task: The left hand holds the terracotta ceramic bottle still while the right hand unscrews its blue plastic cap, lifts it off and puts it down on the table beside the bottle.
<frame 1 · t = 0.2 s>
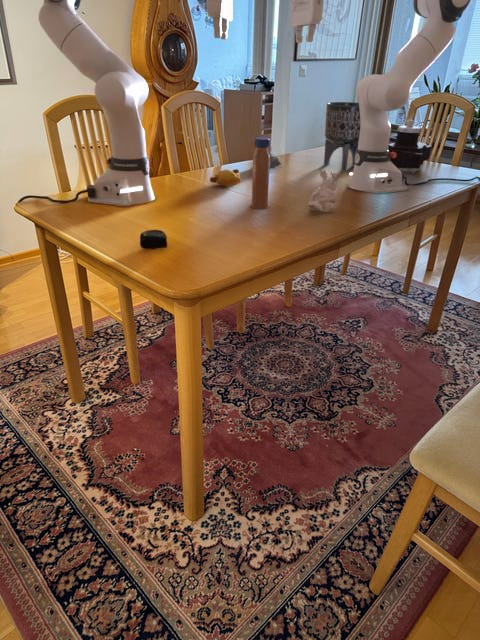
left hand: (220, 38, 130), 48 cm above the table, tool pointing down, fingers open, 8 cm apart
right hand: (304, 42, 147), 48 cm above the table, tool pointing down, fingers open, 8 cm apart
cap: (262, 139, 142), point 21 cm above the table, screwed on, not yet turned
toy: (227, 184, 177), on the table
planter: (341, 167, 211), on the table
bottle: (259, 206, 152), on the table
rock: (268, 167, 206), on the table
mechanical component: (405, 169, 210), on the table
tape measure: (155, 248, 118), on the table
figurine: (320, 210, 150), on the table
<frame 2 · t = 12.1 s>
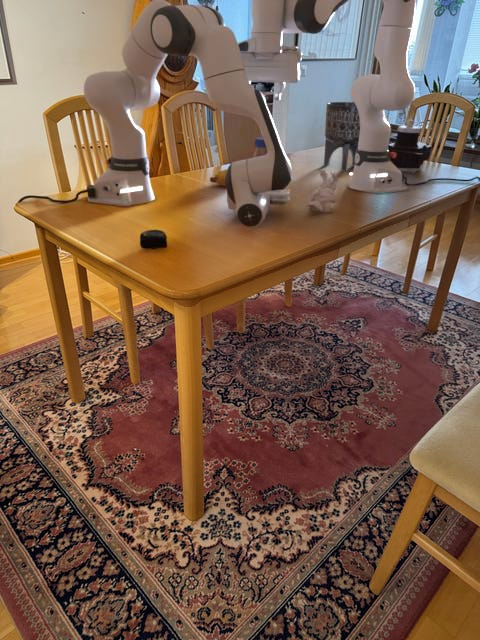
left hand: (260, 189, 150), 6 cm above the table, tool horizontal, fingers closed on bottle, 5 cm apart
right hand: (264, 99, 136), 33 cm above the table, tool pointing down, fingers open, 7 cm apart
bottle: (259, 206, 152), on the table, touching left hand
everything else where it was.
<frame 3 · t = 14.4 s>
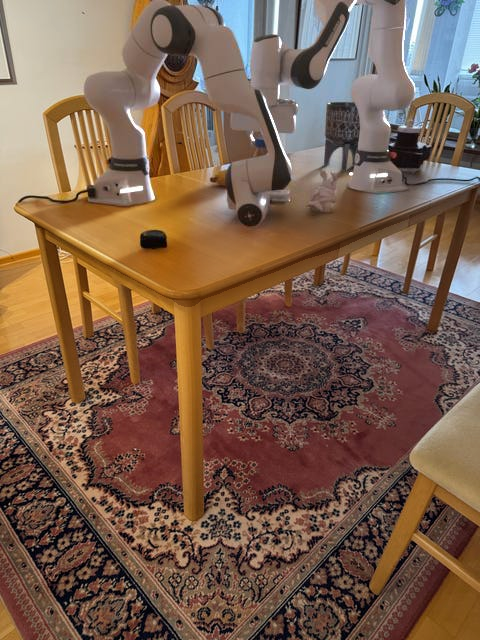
left hand: (260, 189, 150), 6 cm above the table, tool horizontal, fingers closed on bottle, 5 cm apart
right hand: (262, 147, 143), 19 cm above the table, tool pointing down, fingers closed on cap, 4 cm apart
cap: (262, 139, 142), point 21 cm above the table, screwed on, not yet turned, touching right hand
bottle: (259, 206, 152), on the table, touching left hand
everything else where it was.
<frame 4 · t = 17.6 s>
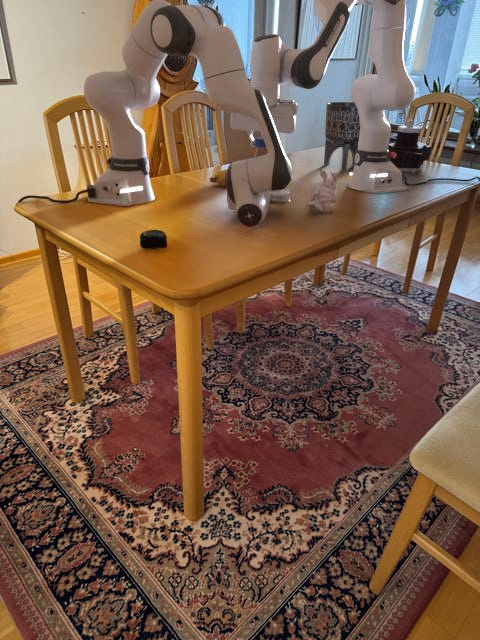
left hand: (260, 189, 150), 6 cm above the table, tool horizontal, fingers closed on bottle, 5 cm apart
right hand: (261, 146, 143), 19 cm above the table, tool pointing down, fingers closed on cap, 4 cm apart
cap: (262, 139, 142), point 21 cm above the table, turned 73° so far, risen 0.1 cm, still on its thread, touching right hand
bottle: (259, 206, 152), on the table, touching left hand
everything else where it was.
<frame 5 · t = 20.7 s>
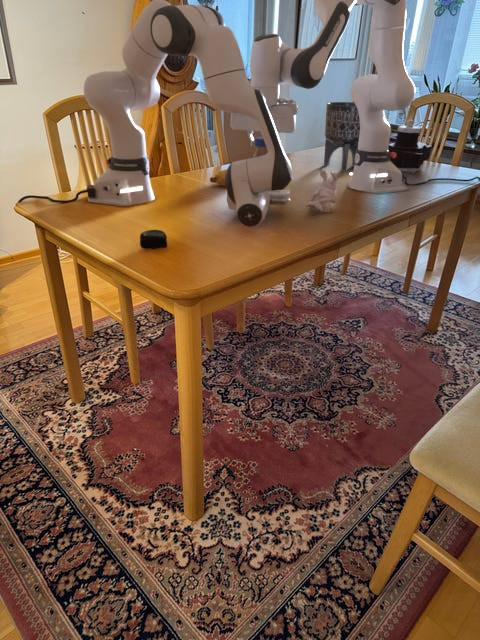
left hand: (260, 189, 150), 6 cm above the table, tool horizontal, fingers closed on bottle, 5 cm apart
right hand: (261, 146, 143), 19 cm above the table, tool pointing down, fingers closed on cap, 4 cm apart
cap: (262, 139, 141), point 21 cm above the table, turned 145° so far, risen 0.1 cm, still on its thread, touching right hand
bottle: (259, 206, 152), on the table, touching left hand
everything else where it was.
when the right hand's fingers open (2 cm above the table, at t = 35.6 s): cap drops 2 cm, point 2 cm above the table.
when the left hand's fingers open (6 cm above the table, at t = 36.7 s): bottle stays where it is, on the table.
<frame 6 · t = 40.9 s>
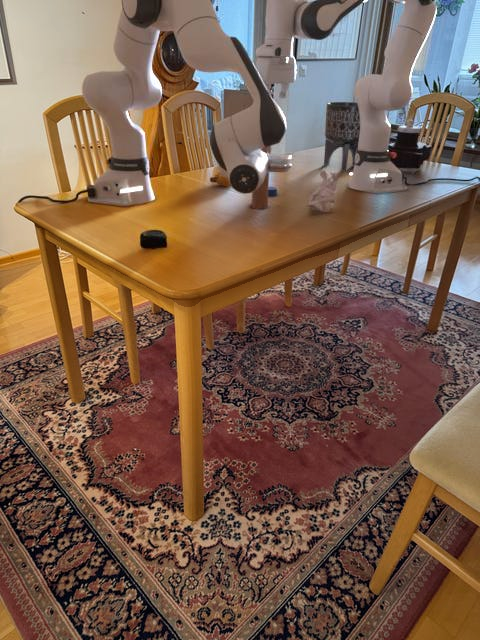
left hand: (257, 156, 132), 18 cm above the table, tool horizontal, fingers open, 8 cm apart
right hand: (275, 99, 150), 32 cm above the table, tool pointing down, fingers open, 8 cm apart
cap: (270, 189, 165), point 2 cm above the table, off its thread
bottle: (259, 206, 152), on the table
everything else where it was.
at the end: cap came off its thread; cap point 2.1 cm above the table; the left hand is holding nothing; the right hand is holding nothing; bottle tilted 0°; bottle moved 0.0 cm from its start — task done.
